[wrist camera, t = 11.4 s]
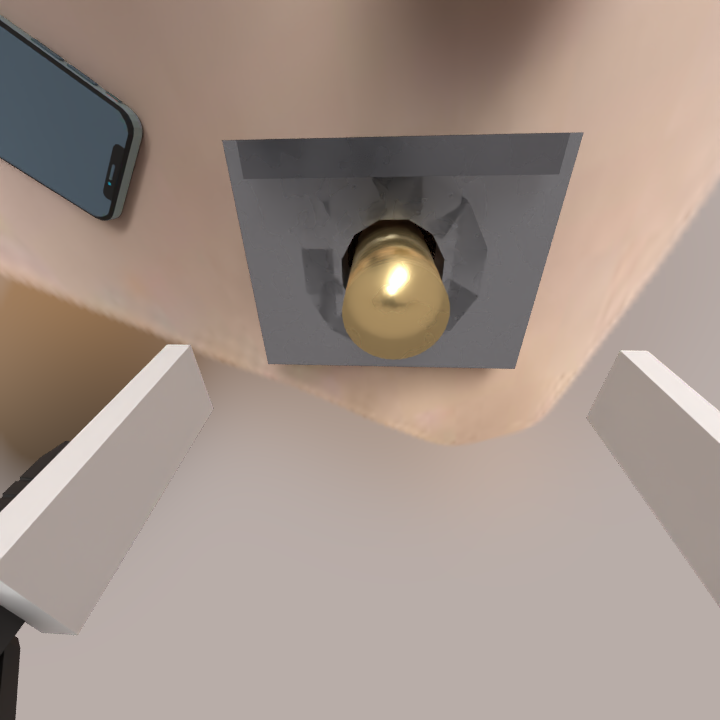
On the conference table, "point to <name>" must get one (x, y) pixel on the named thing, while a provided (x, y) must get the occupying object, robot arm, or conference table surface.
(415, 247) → the brass cylinder rod
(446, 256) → the jig
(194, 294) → the conference table surface
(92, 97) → the smartphone
